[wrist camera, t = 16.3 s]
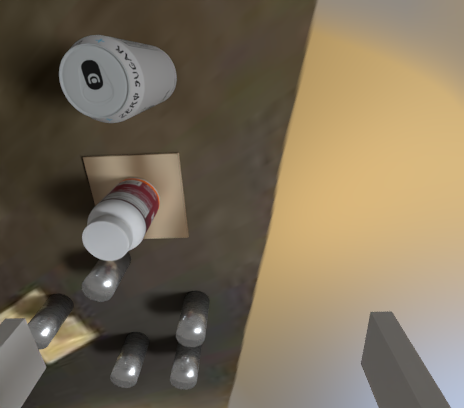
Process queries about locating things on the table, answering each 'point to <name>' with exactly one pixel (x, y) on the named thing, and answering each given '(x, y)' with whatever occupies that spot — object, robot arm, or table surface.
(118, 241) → the pill bottle
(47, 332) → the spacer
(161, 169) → the coaster
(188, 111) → the table surface
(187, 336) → the cylinder
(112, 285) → the cylinder
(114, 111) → the energy drink can
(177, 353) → the grey cylinder
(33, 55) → the table surface
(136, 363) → the cylinder
